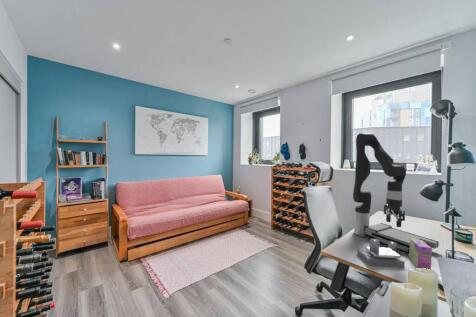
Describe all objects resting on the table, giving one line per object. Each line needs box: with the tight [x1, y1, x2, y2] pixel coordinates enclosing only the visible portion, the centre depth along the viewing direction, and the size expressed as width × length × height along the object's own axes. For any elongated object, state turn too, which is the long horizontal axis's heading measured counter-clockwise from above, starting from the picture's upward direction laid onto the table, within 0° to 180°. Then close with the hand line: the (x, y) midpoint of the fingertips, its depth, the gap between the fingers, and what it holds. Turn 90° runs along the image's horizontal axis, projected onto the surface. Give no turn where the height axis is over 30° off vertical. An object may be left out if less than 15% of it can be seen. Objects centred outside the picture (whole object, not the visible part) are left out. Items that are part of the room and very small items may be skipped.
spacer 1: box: [369, 239, 380, 253], centre depth 112 cm, size 4×4×6 cm
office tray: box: [365, 222, 440, 255], centre depth 131 cm, size 21×32×8 cm, turn 28°
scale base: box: [357, 248, 406, 268], centre depth 112 cm, size 12×18×4 cm, turn 87°
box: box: [408, 238, 433, 270], centre depth 109 cm, size 10×6×12 cm, turn 158°
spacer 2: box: [387, 241, 398, 254], centre depth 121 cm, size 4×4×6 cm
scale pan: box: [365, 246, 401, 259], centre depth 112 cm, size 9×13×1 cm
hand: (393, 224), depth 121 cm, fingers open, 8 cm apart
